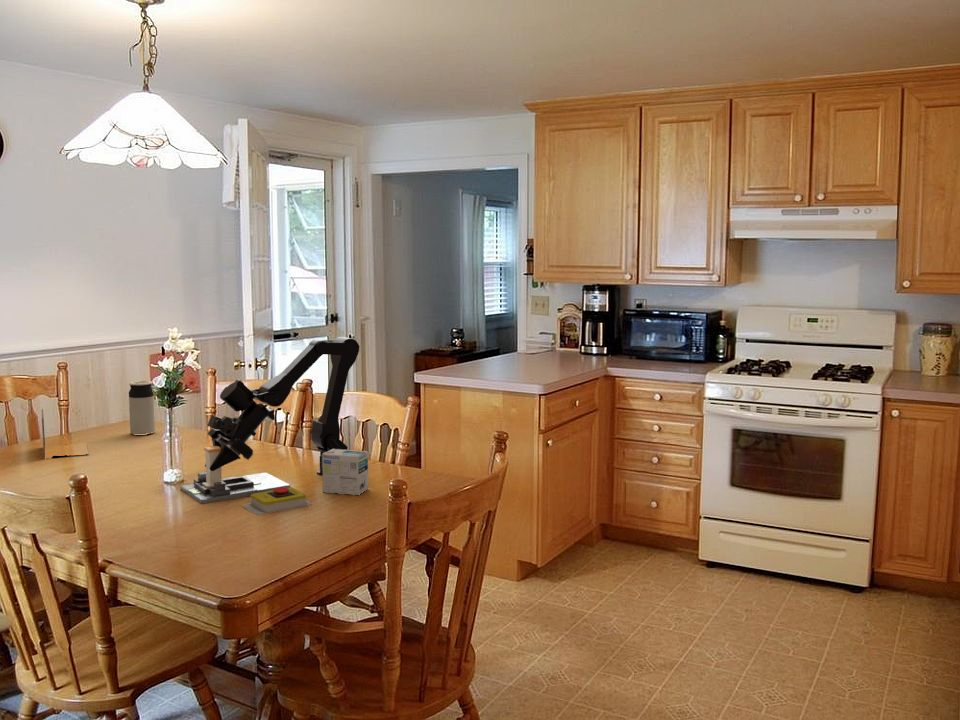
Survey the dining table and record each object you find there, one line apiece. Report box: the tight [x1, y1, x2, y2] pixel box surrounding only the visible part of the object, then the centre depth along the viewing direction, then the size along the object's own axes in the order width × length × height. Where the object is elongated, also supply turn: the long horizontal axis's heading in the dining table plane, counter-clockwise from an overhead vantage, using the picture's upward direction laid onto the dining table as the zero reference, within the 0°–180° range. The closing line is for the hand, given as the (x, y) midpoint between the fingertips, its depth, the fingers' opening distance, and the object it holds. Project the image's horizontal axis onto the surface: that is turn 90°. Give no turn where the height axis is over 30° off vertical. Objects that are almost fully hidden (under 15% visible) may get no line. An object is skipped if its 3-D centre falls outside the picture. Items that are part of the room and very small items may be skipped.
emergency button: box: [242, 486, 312, 516], centre depth 213 cm, size 9×4×15 cm
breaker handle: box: [202, 445, 226, 488], centre depth 222 cm, size 5×4×11 cm
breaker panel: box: [180, 471, 291, 505], centre depth 226 cm, size 24×16×4 cm, turn 127°
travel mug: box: [128, 380, 156, 435], centre depth 293 cm, size 8×8×18 cm
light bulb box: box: [322, 449, 370, 496], centre depth 225 cm, size 11×7×11 cm, turn 74°
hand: (208, 468), depth 222 cm, fingers closed on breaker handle, 3 cm apart
